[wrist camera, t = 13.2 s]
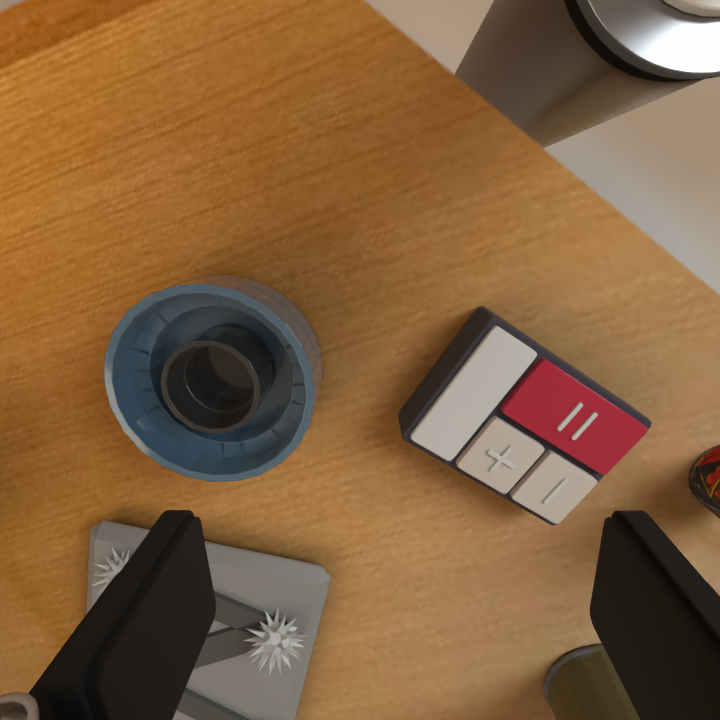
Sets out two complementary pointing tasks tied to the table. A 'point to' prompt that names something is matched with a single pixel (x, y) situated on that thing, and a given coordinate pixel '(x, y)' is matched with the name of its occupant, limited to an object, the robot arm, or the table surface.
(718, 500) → the deodorant
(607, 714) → the canister
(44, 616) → the table surface
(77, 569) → the table surface
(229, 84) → the table surface
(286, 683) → the decorative plate
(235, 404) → the black bowl
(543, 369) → the calculator
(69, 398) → the table surface
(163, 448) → the blue bowl
